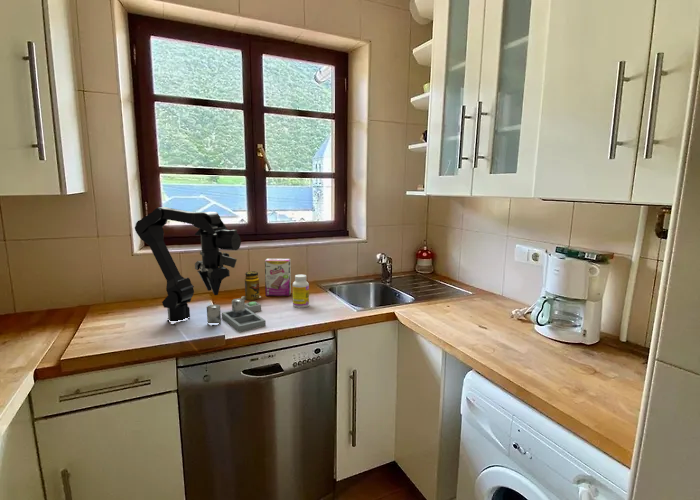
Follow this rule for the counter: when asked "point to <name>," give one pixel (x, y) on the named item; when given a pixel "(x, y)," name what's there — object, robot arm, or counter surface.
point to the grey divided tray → (244, 320)
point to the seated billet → (238, 307)
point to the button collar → (253, 307)
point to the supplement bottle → (300, 292)
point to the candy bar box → (277, 277)
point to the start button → (252, 303)
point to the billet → (213, 314)
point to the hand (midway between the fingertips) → (212, 292)
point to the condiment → (251, 286)
